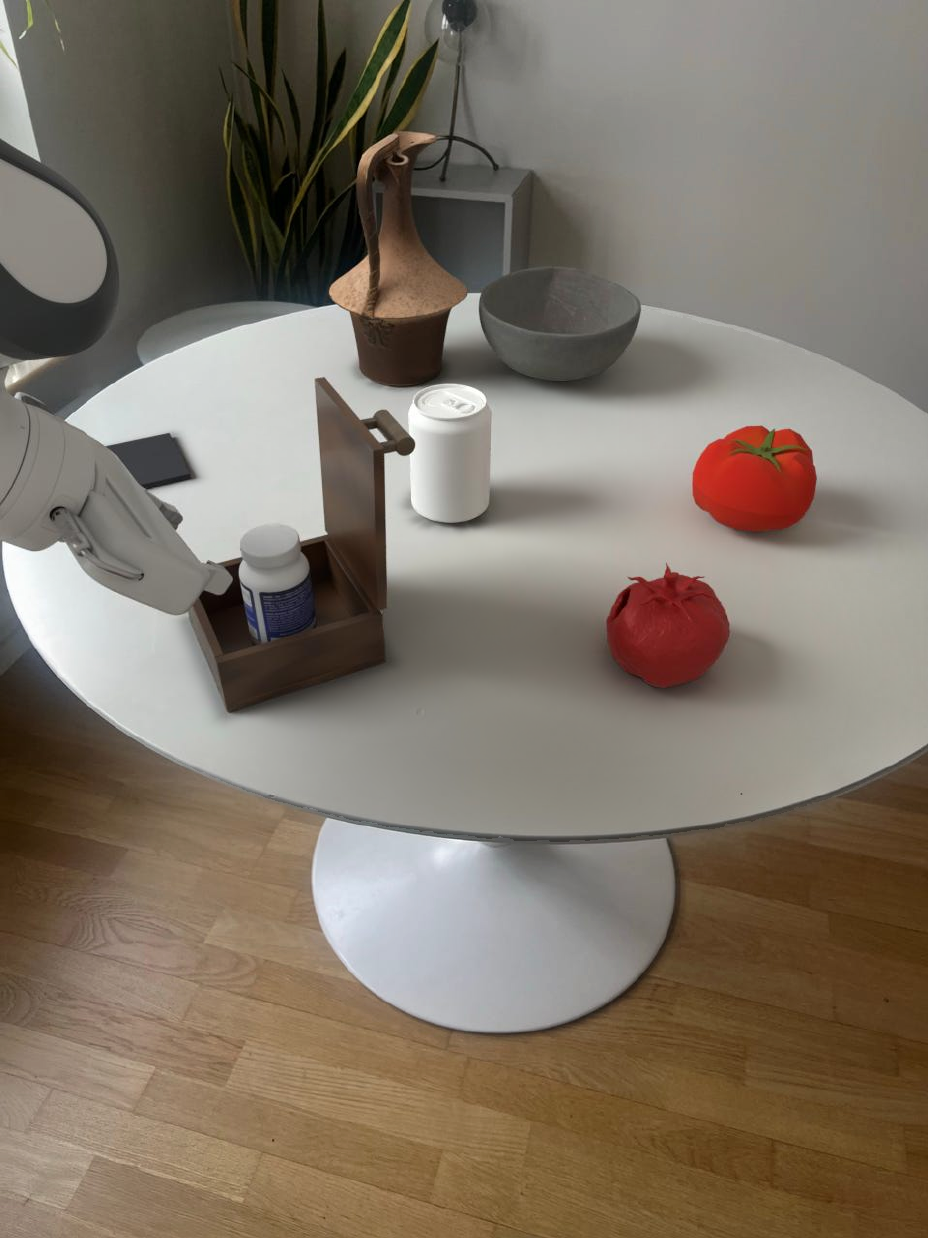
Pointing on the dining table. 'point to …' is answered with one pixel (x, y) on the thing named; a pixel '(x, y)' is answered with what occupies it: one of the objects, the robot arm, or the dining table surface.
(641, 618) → the red crowned fruit
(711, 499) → the tomato
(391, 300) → the pitcher
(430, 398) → the beverage can
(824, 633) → the dining table surface
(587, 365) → the bowl
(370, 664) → the chest
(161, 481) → the mat
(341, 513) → the chest lid
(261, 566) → the pill bottle
